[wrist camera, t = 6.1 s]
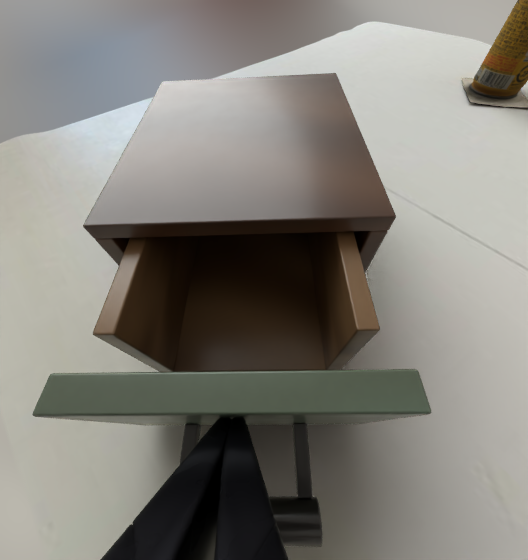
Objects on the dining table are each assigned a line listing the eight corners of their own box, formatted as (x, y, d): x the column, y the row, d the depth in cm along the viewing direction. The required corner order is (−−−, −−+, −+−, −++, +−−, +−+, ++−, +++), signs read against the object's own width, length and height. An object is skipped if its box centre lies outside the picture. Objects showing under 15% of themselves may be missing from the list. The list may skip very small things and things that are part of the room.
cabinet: (342, 314, 17) (397, 216, 9) (166, 317, 18) (81, 226, 10) (317, 183, 25) (336, 72, 17) (195, 188, 25) (161, 80, 18)
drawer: (376, 530, 11) (515, 660, 4) (121, 528, 11) (-74, 646, 5) (323, 234, 20) (344, 145, 14) (186, 238, 20) (148, 153, 14)
